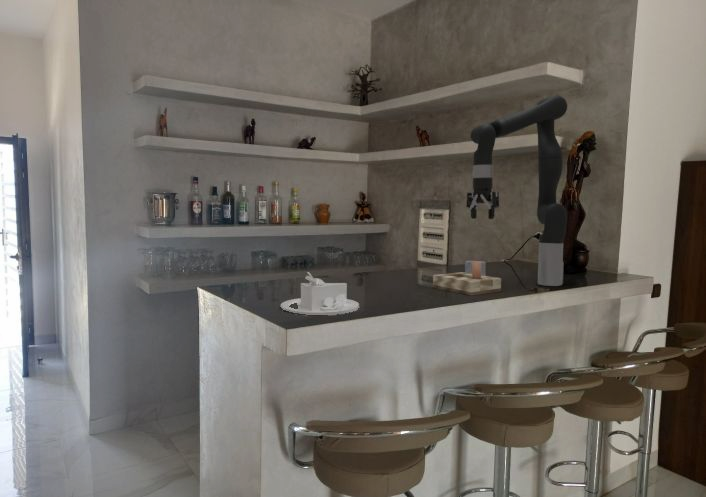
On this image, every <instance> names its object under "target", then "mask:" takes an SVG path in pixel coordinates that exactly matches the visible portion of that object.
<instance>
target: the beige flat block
mask: <svg viewBox="0 0 706 497" xmlns="http://www.w3.org/2000/svg"><path fill="white" fill-rule="evenodd" d="M432 288H433V289H437V290H440V291H441V290H442V291H448V292H452V293H457V294H463V295H467V296H472V297H473V296H476V295H477V296H478V295H486V294H492V293H499V292H502V277H501V278H500V277H497V276H490V275H488V276H487V275H485V276H483V275H481V279H472V274H470V273H465V271H464V272H463V271H462V272H461V271H460V272H452V273H443V274H440V273H439V274H432Z"/></svg>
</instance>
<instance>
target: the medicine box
mask: <svg viewBox="0 0 706 497" xmlns="http://www.w3.org/2000/svg"><path fill="white" fill-rule="evenodd" d="M474 261H475V260H466V261H465V262H464V273H470V274H472V262H474ZM476 261H477V262H481V275H483V276H486V266H487V264H486V261H484V260H483V261H482V260H476Z"/></svg>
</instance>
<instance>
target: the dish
mask: <svg viewBox="0 0 706 497" xmlns="http://www.w3.org/2000/svg"><path fill="white" fill-rule="evenodd" d="M306 273H307V275H306V276H305V278H304V279H305V280H306V281H309V282H300V298H299V297H298V298H294V299H293V298H292V299H288V300H286V301H283V302H281V304H280V307H281V308H282V309H283V310H286V311H289V312H293V313H299V314H306V315H305V316H307V315H328V316H338V315H337V314H339V315H346V314H345V313H347V314H350V313H353V311H354V312H356V311H358V310H359V309H360V303H359V302H358V301H355V300H353V299H348V298H347V297H348V294H347V293H348V292H347V290H348V288H347V286H348V284H347V283H348V282H347V283H346V282H335V283H334V282H329V283H328V282H324V280H322V279H321V278H318V277H317V278H315V277H313V275H312V274H311V273H310V272H308V271H307V272H306ZM294 303H297V305H298V309H294V308H291V307H289V306H290V305H291V304H294ZM358 308H359V309H358ZM283 310H282V311H283ZM349 312H350V313H349Z"/></svg>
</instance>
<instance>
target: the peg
mask: <svg viewBox="0 0 706 497" xmlns="http://www.w3.org/2000/svg"><path fill="white" fill-rule="evenodd" d="M473 261H474V262H472V279H481V262H477V261H478V260H473Z"/></svg>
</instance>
